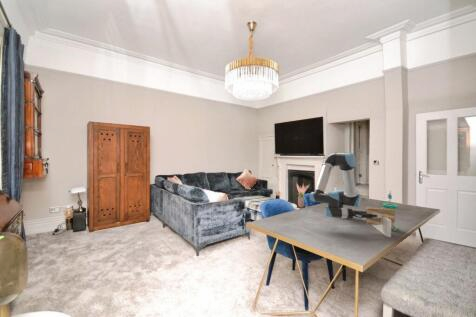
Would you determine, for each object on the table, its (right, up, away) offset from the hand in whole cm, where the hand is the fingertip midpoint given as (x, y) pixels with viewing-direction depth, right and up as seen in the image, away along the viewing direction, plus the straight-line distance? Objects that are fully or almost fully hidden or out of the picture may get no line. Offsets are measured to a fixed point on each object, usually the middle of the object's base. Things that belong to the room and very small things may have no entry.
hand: (380, 215), depth 161 cm
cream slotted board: (+3, -13, +4) cm, 14 cm away
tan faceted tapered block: (0, -7, 0) cm, 7 cm away
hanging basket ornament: (+13, -13, +9) cm, 21 cm away
